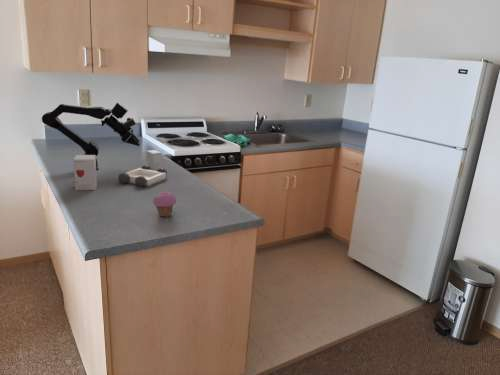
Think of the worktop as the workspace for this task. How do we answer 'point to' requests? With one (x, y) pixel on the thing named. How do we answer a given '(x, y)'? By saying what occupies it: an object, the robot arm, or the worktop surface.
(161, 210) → the cupcake
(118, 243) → the worktop surface
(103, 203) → the worktop surface
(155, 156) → the small box
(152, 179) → the chassis
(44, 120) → the robot arm
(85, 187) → the supplement box
